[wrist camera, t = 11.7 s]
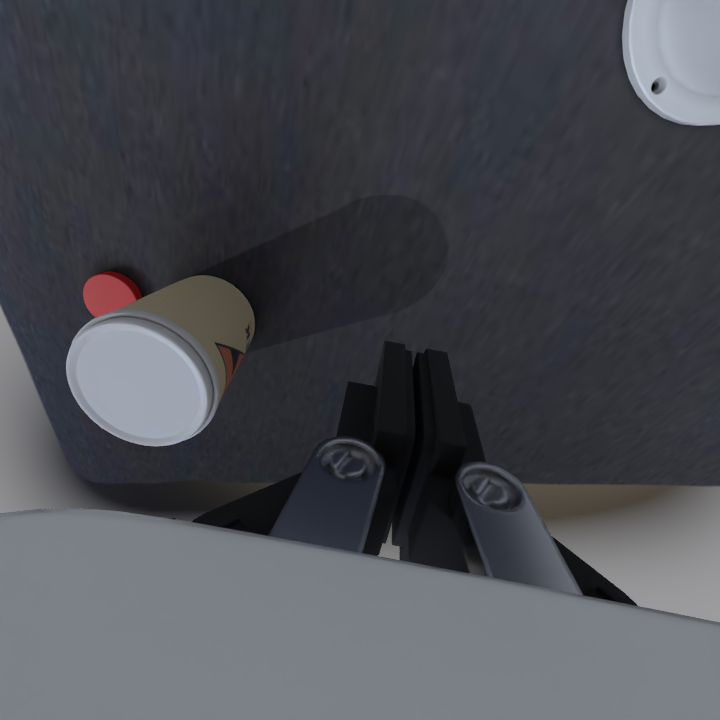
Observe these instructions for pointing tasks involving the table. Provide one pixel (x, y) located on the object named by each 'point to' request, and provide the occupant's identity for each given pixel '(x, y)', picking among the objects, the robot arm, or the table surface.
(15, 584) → the robot arm
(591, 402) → the table surface
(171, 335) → the coffee cup
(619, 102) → the table surface
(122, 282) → the spoon
